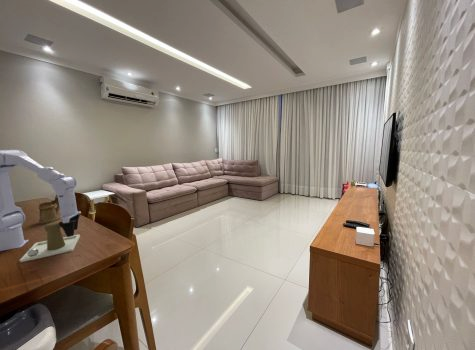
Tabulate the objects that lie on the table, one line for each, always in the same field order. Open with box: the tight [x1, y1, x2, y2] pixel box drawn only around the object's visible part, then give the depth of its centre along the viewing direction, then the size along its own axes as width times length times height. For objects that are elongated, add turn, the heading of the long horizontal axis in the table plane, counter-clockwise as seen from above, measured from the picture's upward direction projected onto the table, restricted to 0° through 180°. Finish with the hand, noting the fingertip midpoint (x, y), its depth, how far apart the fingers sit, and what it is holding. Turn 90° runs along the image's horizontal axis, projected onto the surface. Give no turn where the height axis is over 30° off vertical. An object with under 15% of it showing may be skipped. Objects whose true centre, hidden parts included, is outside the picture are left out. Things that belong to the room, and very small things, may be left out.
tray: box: [19, 233, 81, 263], centre depth 87 cm, size 16×16×2 cm
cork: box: [44, 221, 65, 250], centre depth 87 cm, size 6×6×11 cm
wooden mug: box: [38, 194, 60, 224], centre depth 122 cm, size 9×14×18 cm, turn 148°
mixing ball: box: [26, 248, 39, 257], centre depth 80 cm, size 3×3×3 cm
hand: (72, 232), depth 90 cm, fingers open, 7 cm apart
